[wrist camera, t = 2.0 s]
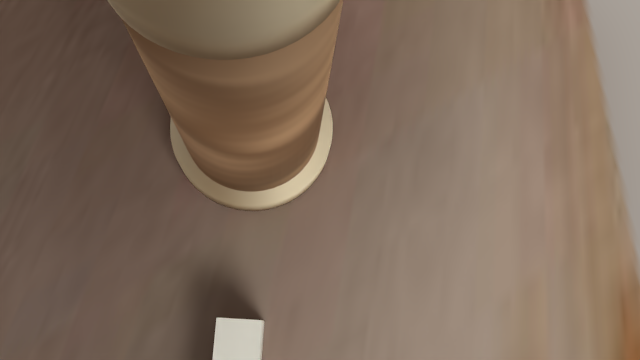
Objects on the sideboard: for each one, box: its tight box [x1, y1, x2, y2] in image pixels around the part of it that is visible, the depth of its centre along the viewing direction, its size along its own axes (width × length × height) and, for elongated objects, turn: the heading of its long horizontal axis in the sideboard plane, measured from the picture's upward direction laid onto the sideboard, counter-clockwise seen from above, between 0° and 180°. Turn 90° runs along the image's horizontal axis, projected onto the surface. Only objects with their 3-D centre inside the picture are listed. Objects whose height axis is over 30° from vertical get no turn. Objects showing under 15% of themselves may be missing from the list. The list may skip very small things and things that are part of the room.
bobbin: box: [107, 0, 343, 211], centre depth 17 cm, size 6×6×13 cm
